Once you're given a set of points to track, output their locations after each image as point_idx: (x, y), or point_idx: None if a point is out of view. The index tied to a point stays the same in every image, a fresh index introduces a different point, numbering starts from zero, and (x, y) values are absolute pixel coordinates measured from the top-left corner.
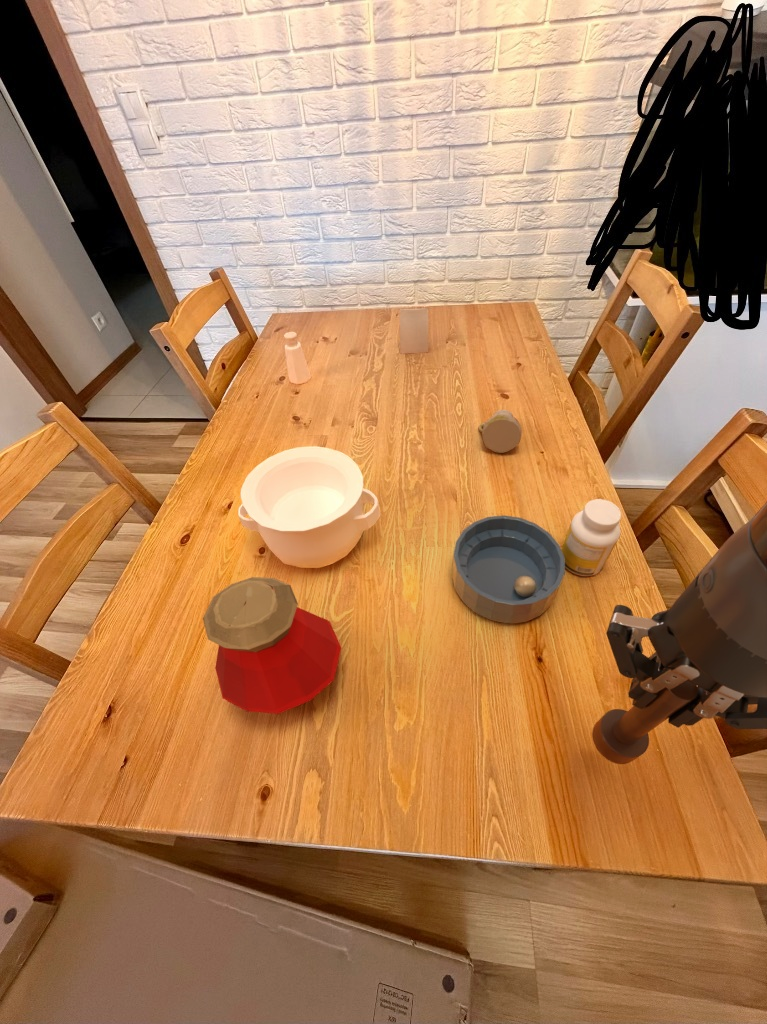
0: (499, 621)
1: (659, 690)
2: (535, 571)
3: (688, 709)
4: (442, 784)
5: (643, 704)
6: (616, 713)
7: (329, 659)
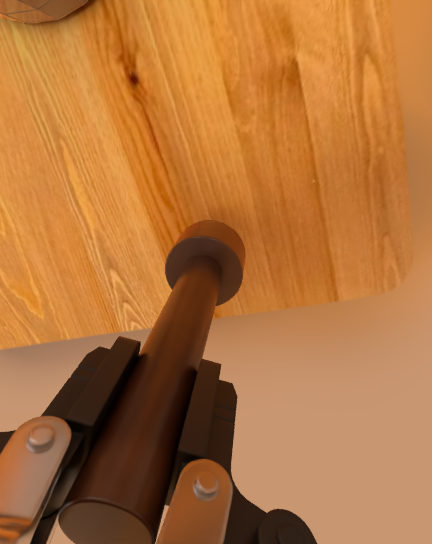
0: (41, 21)
1: (56, 525)
2: None
3: (165, 502)
4: (65, 287)
5: None
6: (188, 246)
7: None
